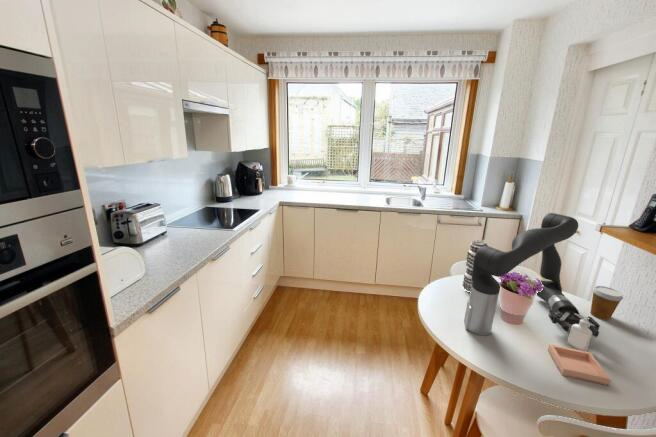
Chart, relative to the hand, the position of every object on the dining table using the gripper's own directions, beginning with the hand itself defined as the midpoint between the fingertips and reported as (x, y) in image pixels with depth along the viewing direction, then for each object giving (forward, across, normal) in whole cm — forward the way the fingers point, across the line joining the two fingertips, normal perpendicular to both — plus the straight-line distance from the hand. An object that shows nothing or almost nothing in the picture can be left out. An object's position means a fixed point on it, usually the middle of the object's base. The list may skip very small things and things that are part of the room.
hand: (582, 332), depth 104 cm
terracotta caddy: (+11, -5, +6) cm, 14 cm away
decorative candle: (-32, -31, +7) cm, 45 cm away
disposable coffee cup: (-28, +19, +7) cm, 34 cm away
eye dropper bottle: (-1, 0, +7) cm, 7 cm away
